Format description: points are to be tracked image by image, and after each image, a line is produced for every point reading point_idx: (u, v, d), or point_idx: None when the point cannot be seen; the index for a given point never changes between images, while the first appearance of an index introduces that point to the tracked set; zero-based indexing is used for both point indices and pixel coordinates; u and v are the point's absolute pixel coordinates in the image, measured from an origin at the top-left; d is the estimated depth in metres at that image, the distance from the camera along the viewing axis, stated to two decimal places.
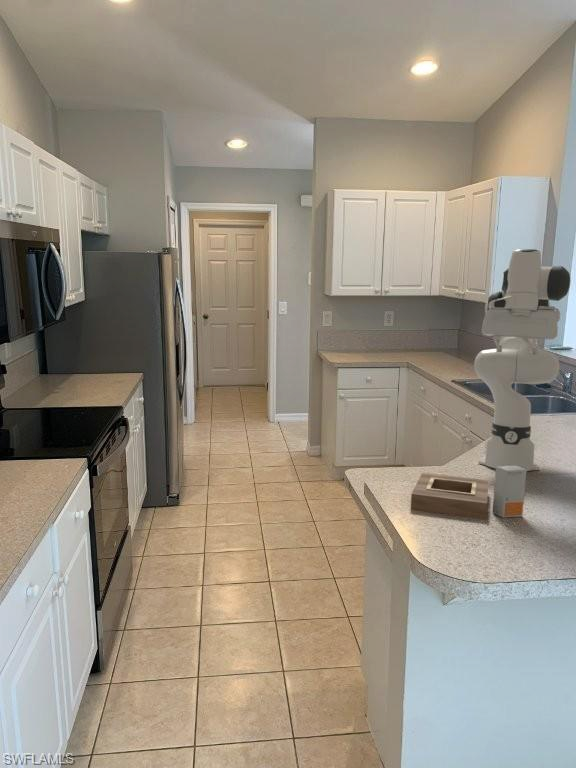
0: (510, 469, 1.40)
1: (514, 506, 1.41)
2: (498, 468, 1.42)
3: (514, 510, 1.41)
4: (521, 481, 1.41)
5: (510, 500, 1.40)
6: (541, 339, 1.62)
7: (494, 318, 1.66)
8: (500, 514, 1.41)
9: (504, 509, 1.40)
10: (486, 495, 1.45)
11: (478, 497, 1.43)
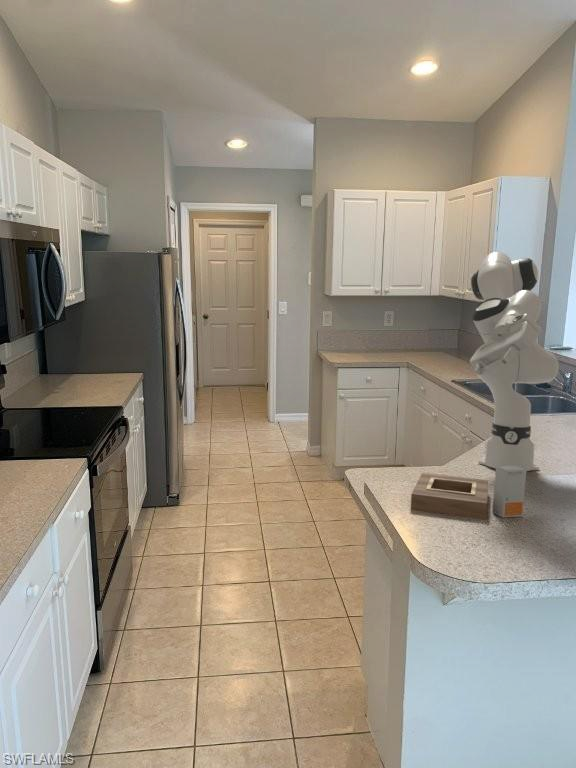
0: (510, 469, 1.40)
1: (514, 506, 1.41)
2: (498, 468, 1.42)
3: (514, 510, 1.41)
4: (521, 481, 1.41)
5: (510, 500, 1.40)
6: None
7: None
8: (500, 514, 1.41)
9: (504, 509, 1.40)
10: (486, 495, 1.45)
11: (478, 497, 1.43)
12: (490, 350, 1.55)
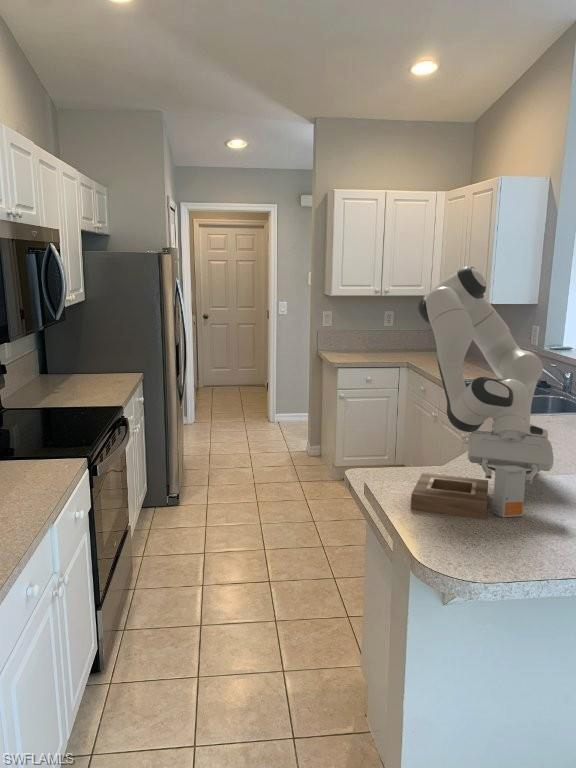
0: (510, 469, 1.40)
1: (514, 506, 1.41)
2: (498, 468, 1.42)
3: (514, 510, 1.41)
4: (521, 481, 1.41)
5: (510, 500, 1.41)
6: None
7: None
8: (500, 514, 1.41)
9: (504, 508, 1.40)
10: (486, 495, 1.45)
11: (478, 497, 1.43)
12: (502, 455, 1.45)
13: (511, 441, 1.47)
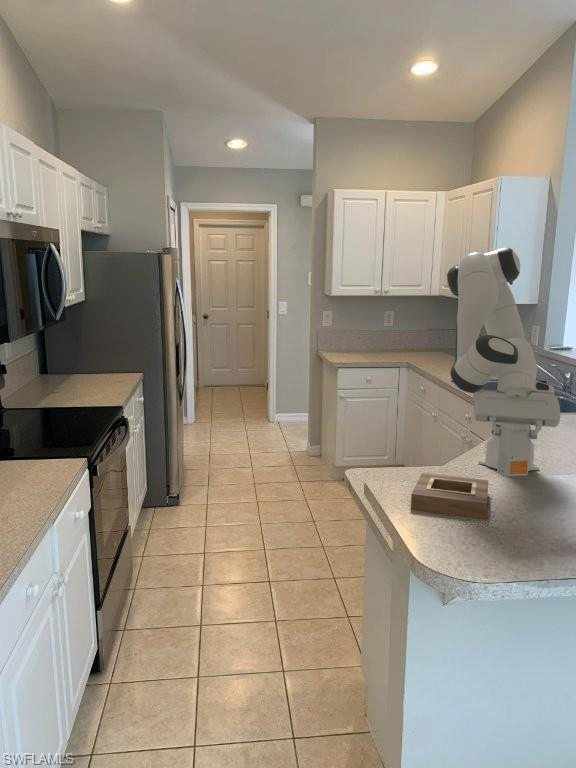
0: (515, 427, 1.39)
1: (519, 465, 1.40)
2: (502, 427, 1.41)
3: (519, 469, 1.40)
4: (526, 439, 1.40)
5: (515, 459, 1.39)
6: None
7: None
8: (505, 473, 1.40)
9: (509, 467, 1.39)
10: (486, 495, 1.45)
11: (478, 497, 1.43)
12: (508, 412, 1.43)
13: (517, 398, 1.45)
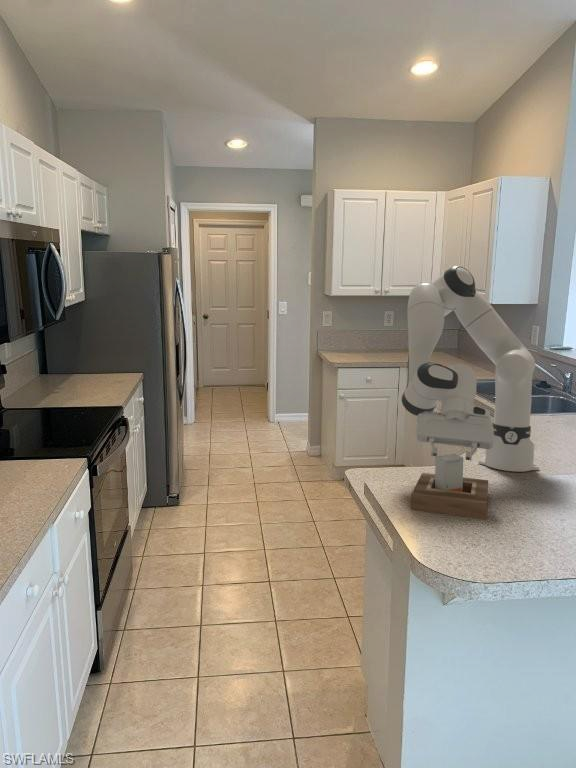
0: (448, 458, 1.50)
1: None
2: (437, 458, 1.51)
3: None
4: (459, 468, 1.50)
5: (450, 487, 1.50)
6: None
7: None
8: None
9: None
10: (486, 495, 1.45)
11: (478, 497, 1.43)
12: (447, 434, 1.53)
13: (456, 421, 1.55)
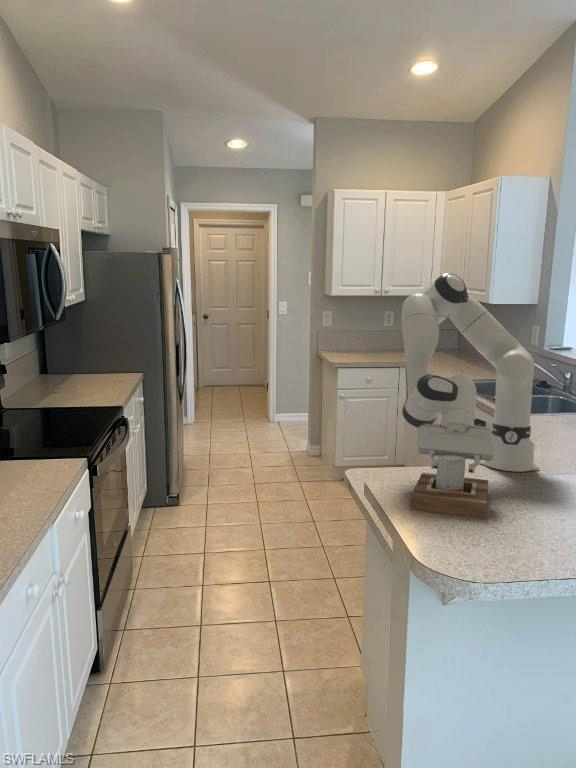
0: (451, 458, 1.50)
1: None
2: (440, 457, 1.51)
3: None
4: (461, 469, 1.51)
5: (451, 487, 1.50)
6: None
7: None
8: None
9: None
10: (486, 495, 1.45)
11: (478, 497, 1.43)
12: (448, 446, 1.54)
13: (456, 433, 1.56)
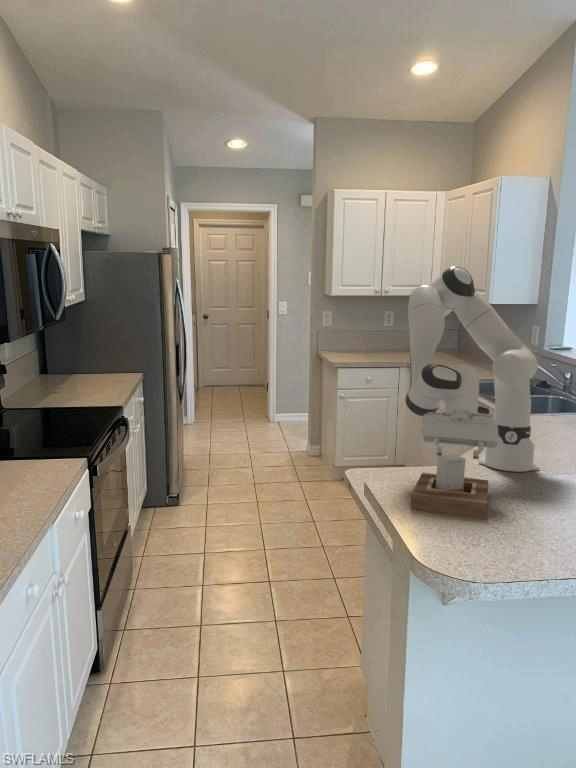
0: (451, 458, 1.50)
1: None
2: (440, 458, 1.51)
3: None
4: (461, 469, 1.50)
5: (451, 487, 1.50)
6: None
7: None
8: None
9: None
10: (486, 495, 1.45)
11: (478, 497, 1.43)
12: (452, 434, 1.56)
13: (460, 421, 1.58)
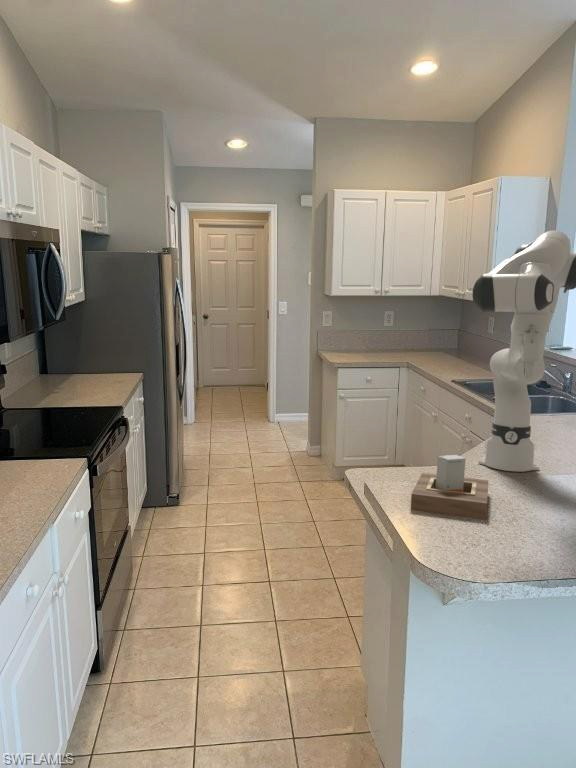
0: (451, 458, 1.50)
1: None
2: (440, 457, 1.51)
3: None
4: (461, 469, 1.50)
5: (451, 487, 1.50)
6: (525, 362, 1.49)
7: (522, 340, 1.61)
8: None
9: None
10: (486, 495, 1.45)
11: (478, 497, 1.43)
12: None
13: None
